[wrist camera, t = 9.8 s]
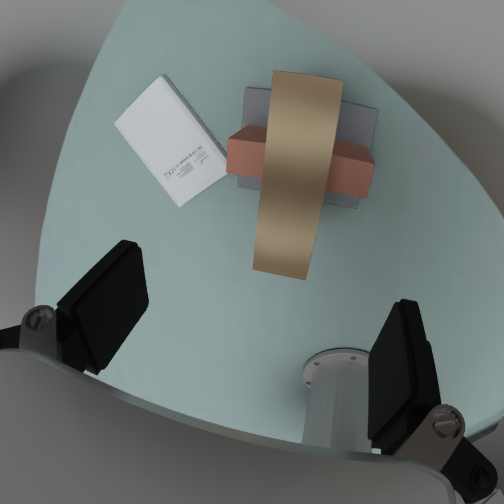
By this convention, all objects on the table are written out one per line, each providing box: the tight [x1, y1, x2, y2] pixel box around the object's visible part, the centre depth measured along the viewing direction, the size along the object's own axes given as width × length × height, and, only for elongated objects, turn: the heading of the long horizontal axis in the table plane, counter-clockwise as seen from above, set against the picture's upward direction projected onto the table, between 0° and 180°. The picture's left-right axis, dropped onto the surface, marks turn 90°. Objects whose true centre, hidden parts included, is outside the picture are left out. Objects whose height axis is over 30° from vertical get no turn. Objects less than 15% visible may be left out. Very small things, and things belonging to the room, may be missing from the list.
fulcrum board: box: [226, 87, 378, 209], centre depth 25 cm, size 10×12×7 cm
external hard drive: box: [114, 75, 228, 207], centre depth 30 cm, size 2×8×12 cm
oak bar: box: [253, 70, 344, 280], centre depth 21 cm, size 14×4×4 cm, turn 175°
